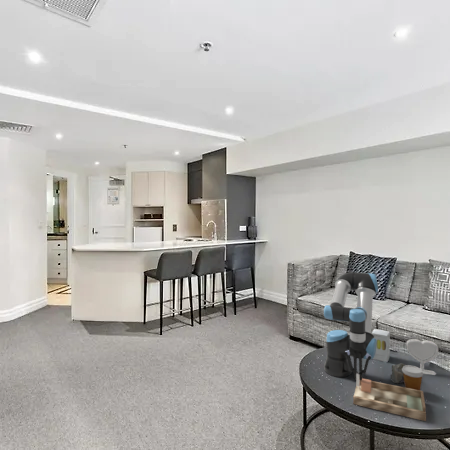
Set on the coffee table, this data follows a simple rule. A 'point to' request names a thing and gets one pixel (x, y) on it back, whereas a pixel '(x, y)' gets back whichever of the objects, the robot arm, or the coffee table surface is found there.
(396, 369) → the mineral rock
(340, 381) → the coffee table surface
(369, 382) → the terracotta block
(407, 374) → the disposable coffee cup
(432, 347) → the heart sculpture
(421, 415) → the box
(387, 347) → the supplement box
